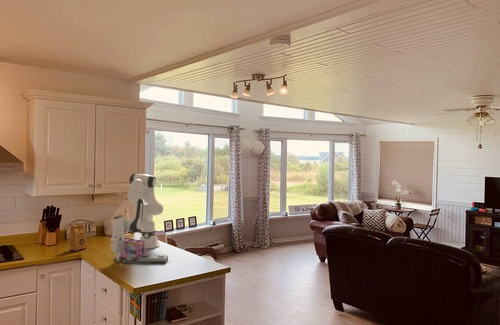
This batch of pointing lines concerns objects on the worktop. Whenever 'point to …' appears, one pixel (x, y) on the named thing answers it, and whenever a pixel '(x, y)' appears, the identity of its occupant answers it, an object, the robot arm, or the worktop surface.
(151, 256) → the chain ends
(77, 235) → the coffee package
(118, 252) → the pin
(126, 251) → the gum box
